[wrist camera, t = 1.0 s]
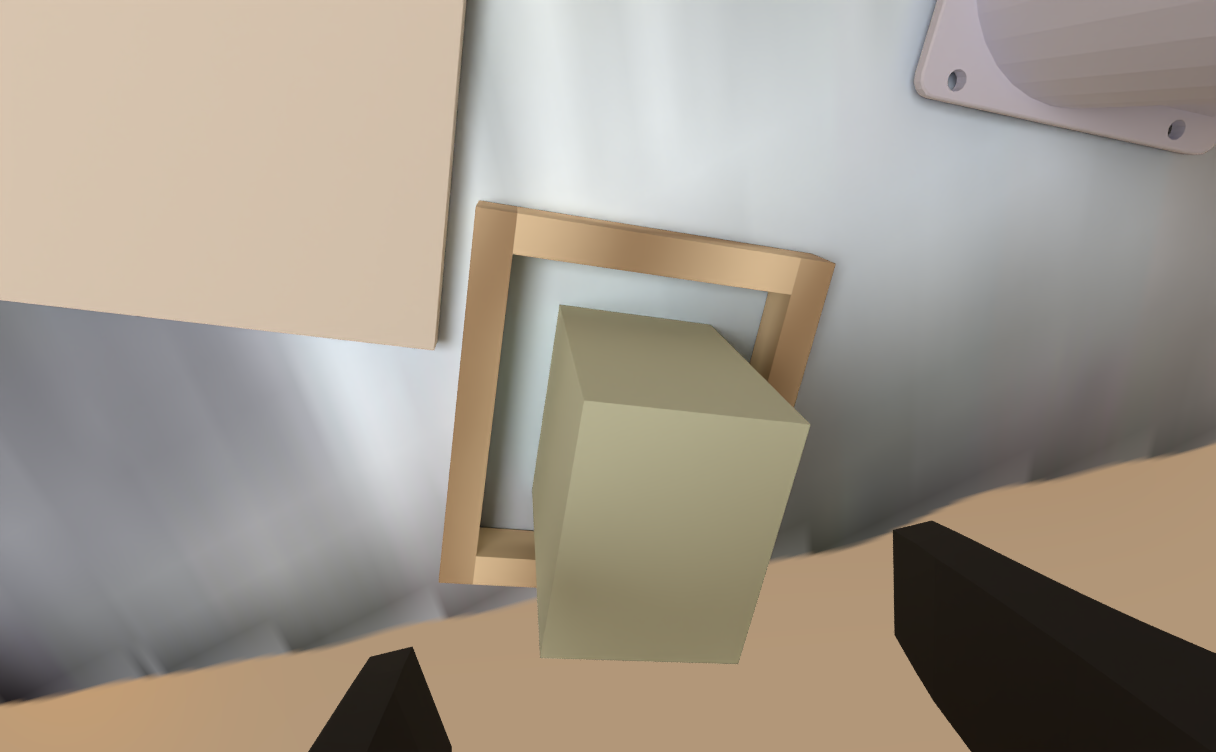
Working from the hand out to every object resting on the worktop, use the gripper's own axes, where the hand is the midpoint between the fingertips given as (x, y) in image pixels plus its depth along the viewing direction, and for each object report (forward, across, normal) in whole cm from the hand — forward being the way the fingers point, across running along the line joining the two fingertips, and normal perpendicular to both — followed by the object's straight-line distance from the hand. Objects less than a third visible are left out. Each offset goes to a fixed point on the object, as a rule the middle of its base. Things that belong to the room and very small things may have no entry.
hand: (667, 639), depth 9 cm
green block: (+10, -1, +1) cm, 11 cm away
